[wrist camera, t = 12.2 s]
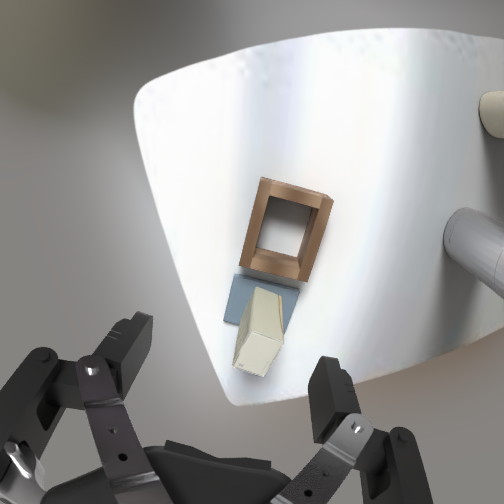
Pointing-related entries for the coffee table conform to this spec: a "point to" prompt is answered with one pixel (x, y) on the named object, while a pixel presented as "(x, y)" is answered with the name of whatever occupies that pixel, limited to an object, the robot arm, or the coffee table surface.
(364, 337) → the coffee table surface
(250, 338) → the skincare box
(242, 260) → the pocket block
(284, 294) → the pad
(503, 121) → the travel mug
